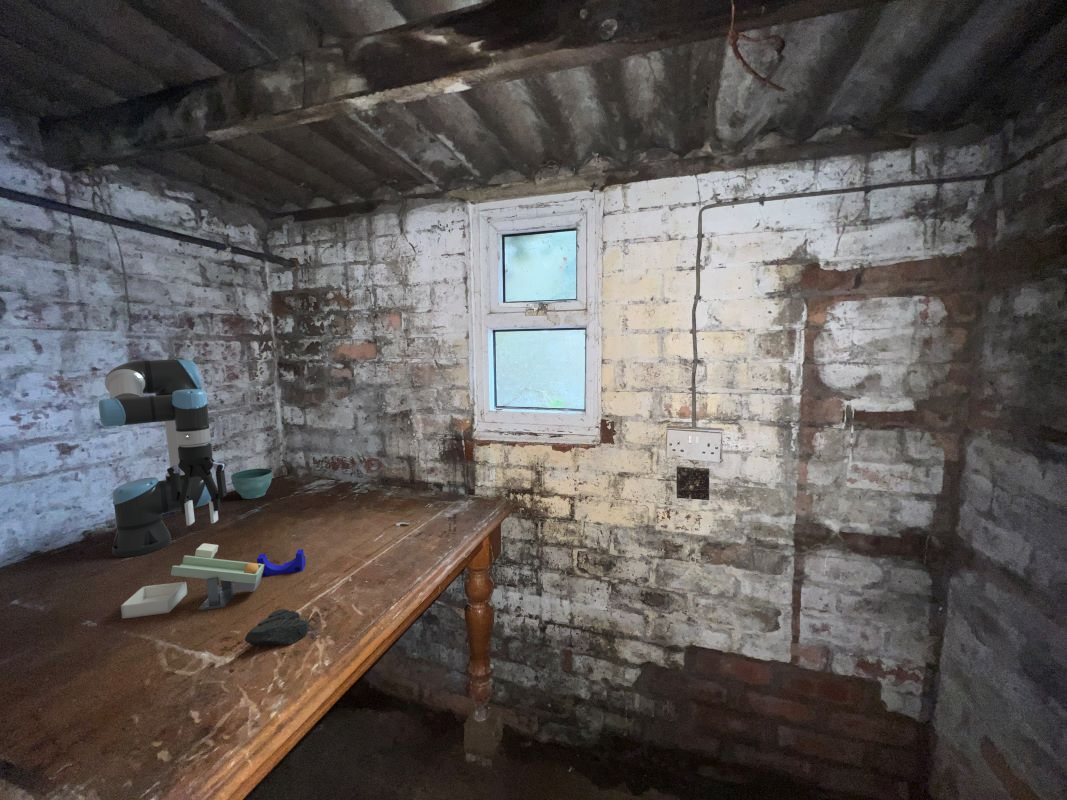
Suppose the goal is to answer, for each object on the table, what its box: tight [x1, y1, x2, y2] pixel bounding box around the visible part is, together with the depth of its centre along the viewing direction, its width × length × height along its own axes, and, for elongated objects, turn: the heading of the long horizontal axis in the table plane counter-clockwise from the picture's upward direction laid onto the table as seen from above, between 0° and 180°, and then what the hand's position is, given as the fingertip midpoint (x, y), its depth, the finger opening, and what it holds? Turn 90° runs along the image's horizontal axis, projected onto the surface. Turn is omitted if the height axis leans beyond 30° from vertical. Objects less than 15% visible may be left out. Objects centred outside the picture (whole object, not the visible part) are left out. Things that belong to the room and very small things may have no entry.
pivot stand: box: [198, 577, 238, 611], centre depth 119 cm, size 6×11×8 cm, turn 14°
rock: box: [244, 608, 310, 647], centre depth 102 cm, size 10×6×10 cm
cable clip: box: [256, 549, 306, 578], centre depth 133 cm, size 12×4×6 cm, turn 107°
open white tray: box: [120, 581, 188, 620], centre depth 116 cm, size 10×9×4 cm
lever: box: [170, 542, 265, 593], centre depth 123 cm, size 20×14×5 cm
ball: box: [244, 562, 259, 574], centre depth 121 cm, size 4×4×4 cm
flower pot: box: [230, 467, 273, 500], centre depth 199 cm, size 16×16×11 cm
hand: (202, 522), depth 124 cm, fingers open, 5 cm apart
